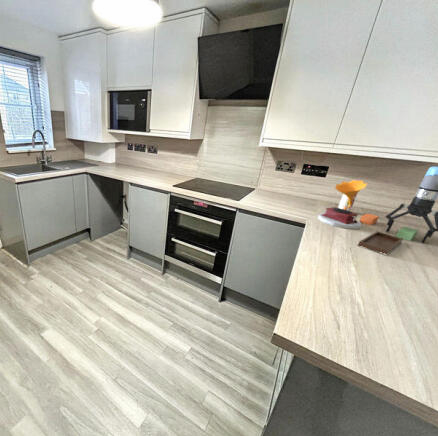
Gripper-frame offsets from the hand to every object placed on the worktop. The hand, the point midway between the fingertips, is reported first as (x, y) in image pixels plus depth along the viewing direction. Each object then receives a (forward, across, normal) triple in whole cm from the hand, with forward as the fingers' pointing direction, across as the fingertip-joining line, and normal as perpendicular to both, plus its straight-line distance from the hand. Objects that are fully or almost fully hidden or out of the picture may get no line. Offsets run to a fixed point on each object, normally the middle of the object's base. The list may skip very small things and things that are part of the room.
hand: (404, 236), depth 125 cm
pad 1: (0, -18, +8) cm, 19 cm away
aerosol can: (+1, -34, +18) cm, 38 cm away
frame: (0, -4, -26) cm, 26 cm away
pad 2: (0, 0, 0) cm, 0 cm away
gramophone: (0, -27, -10) cm, 29 cm away
